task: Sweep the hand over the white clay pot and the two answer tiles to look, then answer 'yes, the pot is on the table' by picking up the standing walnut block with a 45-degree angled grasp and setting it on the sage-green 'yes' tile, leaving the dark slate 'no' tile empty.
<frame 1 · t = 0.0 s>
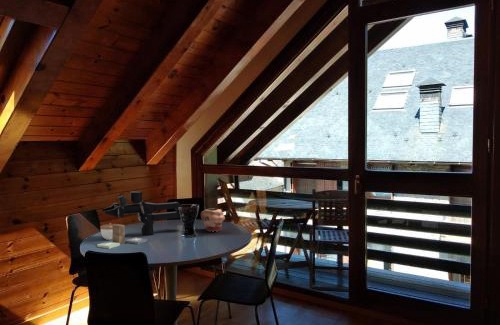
hand: (103, 211, 227), 17 cm above the table, tool horizontal, fingers open, 9 cm apart
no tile: (136, 241, 221), on the table
walnut block: (118, 243, 219), on the table
lidded jar: (110, 239, 230), on the table
decorative planter: (211, 230, 251), on the table
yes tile: (108, 246, 212), on the table
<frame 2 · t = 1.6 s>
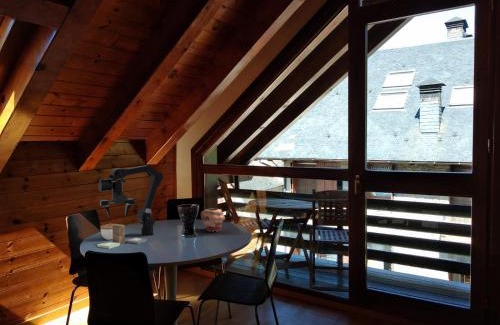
hand: (117, 216, 227), 13 cm above the table, tool pointing down, fingers open, 9 cm apart
nothing on the table moved.
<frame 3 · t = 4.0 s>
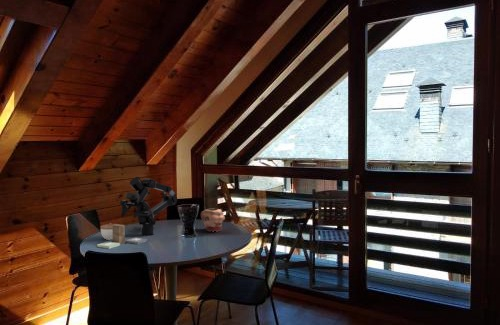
hand: (127, 217, 225), 13 cm above the table, tool tilted 45°, fingers open, 9 cm apart
nothing on the table moved.
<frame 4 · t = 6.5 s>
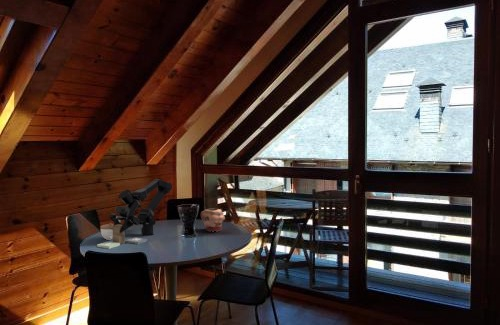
hand: (116, 231, 217), 7 cm above the table, tool tilted 45°, fingers closed on walnut block, 5 cm apart
walnut block: (118, 243, 219), on the table, touching gripper
everything else where it was.
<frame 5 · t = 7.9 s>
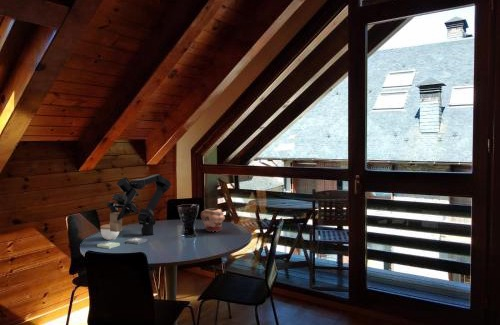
hand: (114, 219, 215), 14 cm above the table, tool tilted 45°, fingers closed on walnut block, 5 cm apart
walnut block: (116, 230, 217), point 7 cm above the table, touching gripper
everything else where it was.
when the fingers open (9 cm above the table, at t = 9.5 s): walnut block stays where it is, resting on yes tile.
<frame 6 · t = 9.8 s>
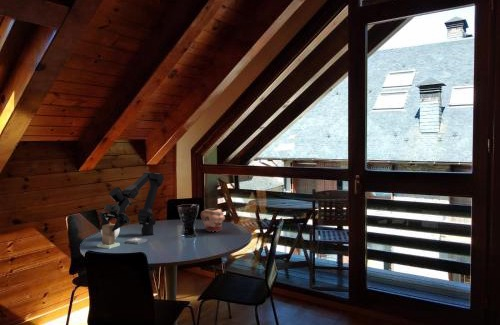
hand: (106, 230, 211), 9 cm above the table, tool tilted 45°, fingers open, 9 cm apart
walnut block: (108, 243, 212), point 1 cm above the table, touching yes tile
everything else where it was.
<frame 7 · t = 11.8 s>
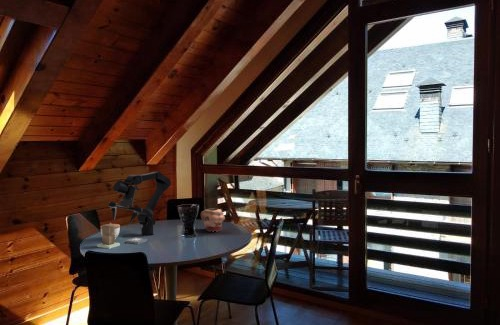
hand: (121, 222, 223), 11 cm above the table, tool tilted 20°, fingers open, 9 cm apart
nothing on the table moved.
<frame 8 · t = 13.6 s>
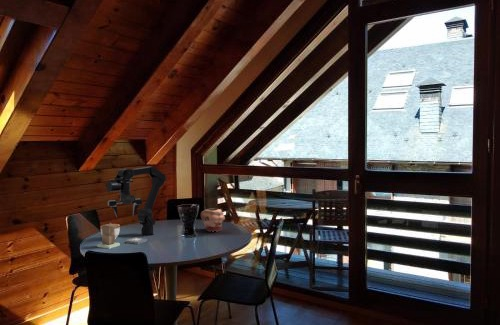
hand: (125, 217, 227), 13 cm above the table, tool pointing down, fingers open, 9 cm apart
nothing on the table moved.
at the end: walnut block inside the target area on the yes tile (0.0 cm from its centre), point 1.3 cm above the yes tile's base; walnut block tilted 0°; the gripper is holding nothing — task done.
